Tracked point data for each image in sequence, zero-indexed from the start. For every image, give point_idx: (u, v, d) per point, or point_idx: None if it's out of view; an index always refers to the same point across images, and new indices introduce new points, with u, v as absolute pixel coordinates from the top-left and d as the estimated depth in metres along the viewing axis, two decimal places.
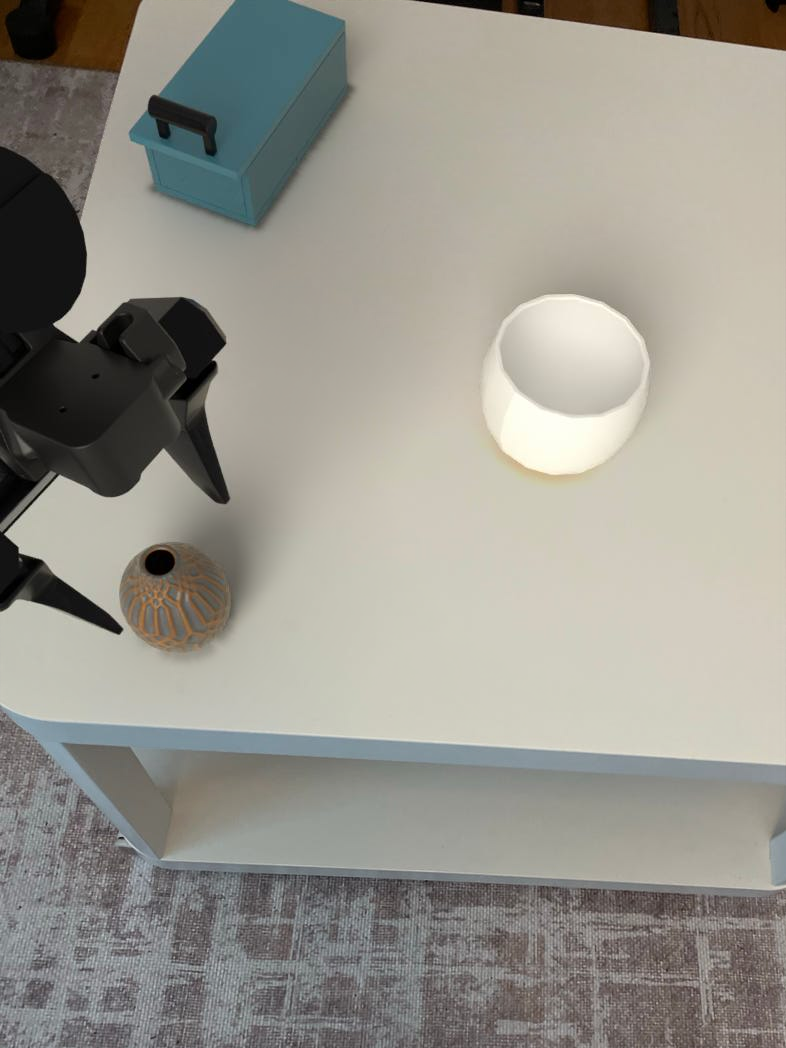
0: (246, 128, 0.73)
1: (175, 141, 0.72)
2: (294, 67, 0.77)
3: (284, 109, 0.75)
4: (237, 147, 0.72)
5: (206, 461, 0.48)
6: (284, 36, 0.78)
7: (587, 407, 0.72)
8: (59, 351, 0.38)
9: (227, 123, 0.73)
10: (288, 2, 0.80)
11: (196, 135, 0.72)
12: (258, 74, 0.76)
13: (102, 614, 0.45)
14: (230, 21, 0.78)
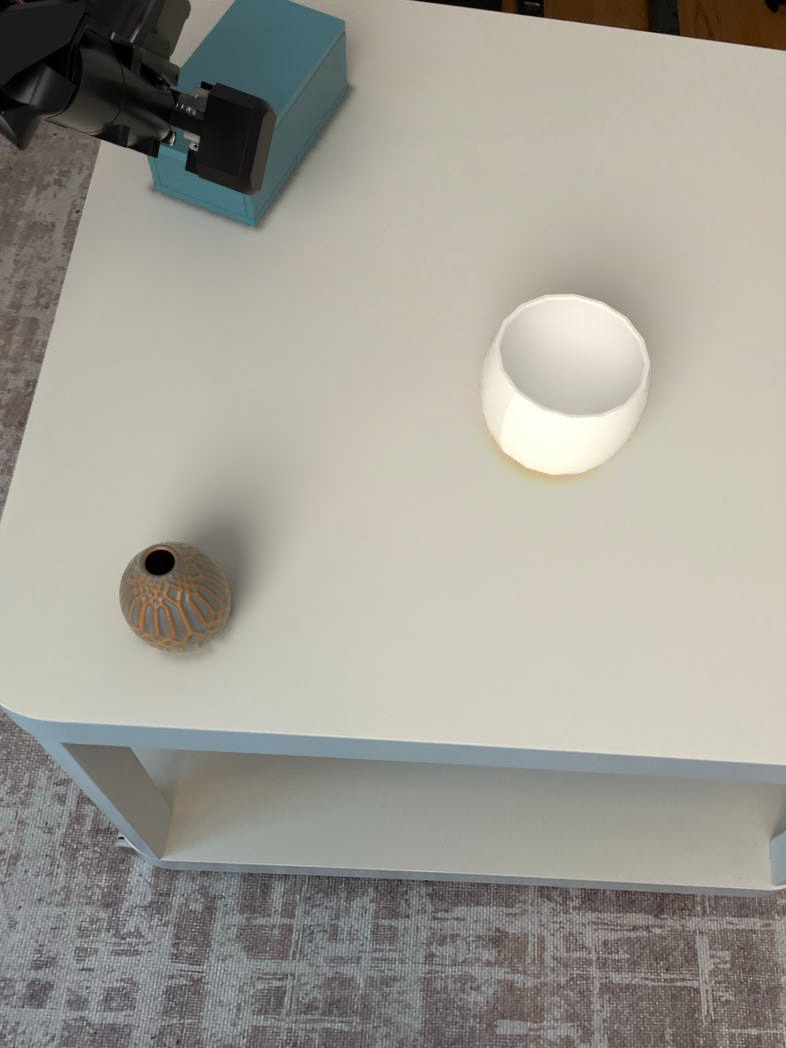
0: None
1: None
2: (294, 67, 0.77)
3: (284, 109, 0.75)
4: None
5: None
6: (284, 36, 0.78)
7: (587, 407, 0.72)
8: None
9: None
10: (288, 2, 0.80)
11: None
12: (258, 74, 0.76)
13: None
14: (230, 21, 0.78)
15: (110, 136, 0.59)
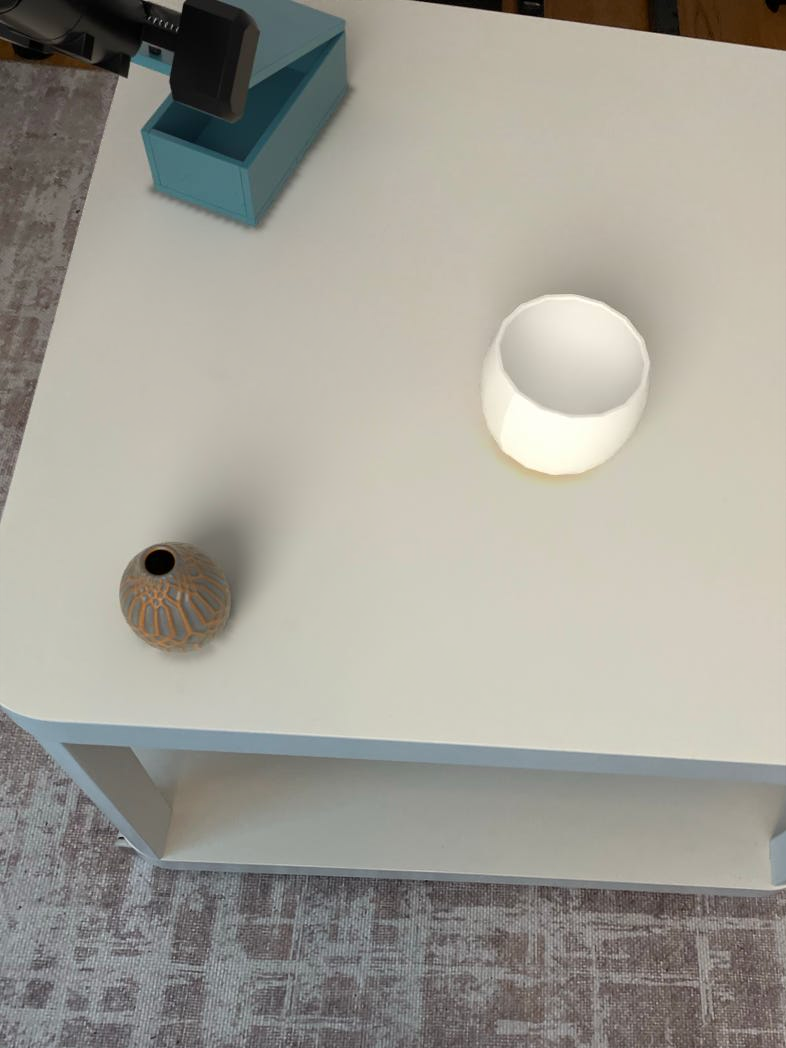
0: None
1: (166, 58, 0.67)
2: (295, 36, 0.75)
3: (283, 60, 0.72)
4: None
5: None
6: (284, 18, 0.77)
7: (587, 407, 0.72)
8: None
9: None
10: (289, 0, 0.80)
11: None
12: None
13: None
14: (229, 0, 0.77)
15: (72, 46, 0.53)
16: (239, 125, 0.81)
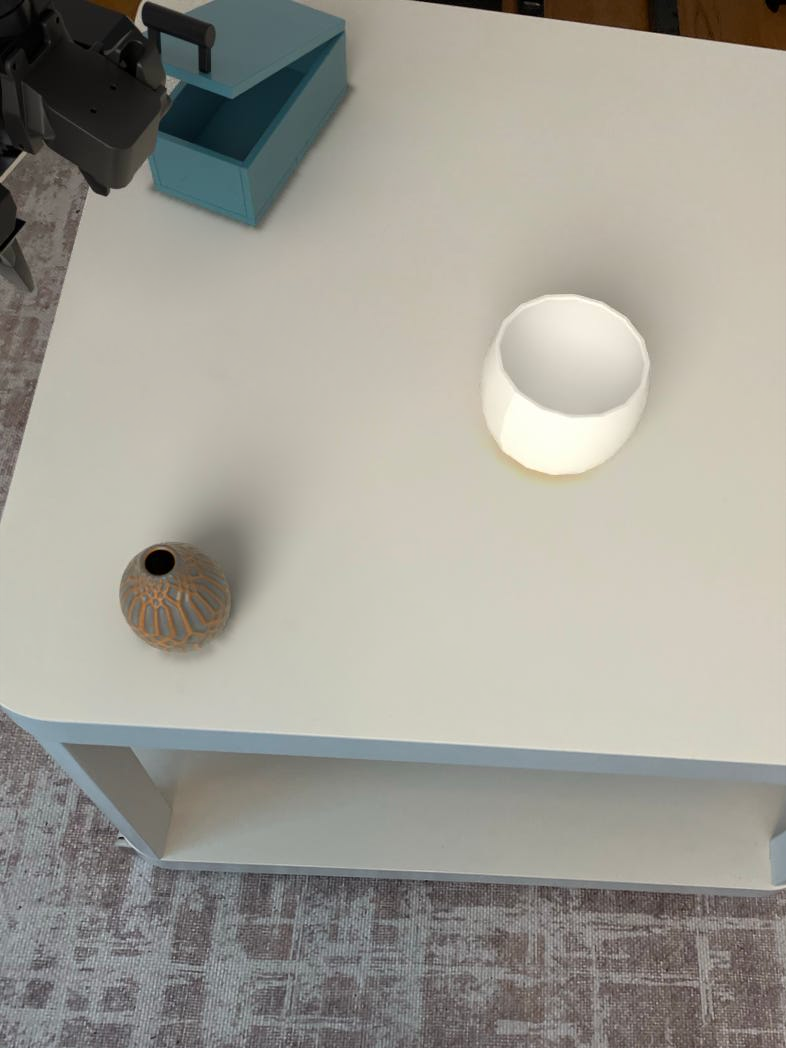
0: (243, 63, 0.69)
1: (166, 58, 0.67)
2: (295, 36, 0.75)
3: (283, 60, 0.72)
4: (233, 72, 0.68)
5: None
6: (284, 18, 0.77)
7: (587, 407, 0.72)
8: (74, 53, 0.47)
9: (222, 56, 0.69)
10: (289, 0, 0.80)
11: (189, 58, 0.67)
12: (257, 34, 0.73)
13: (28, 273, 0.55)
14: (229, 0, 0.77)
15: None
16: (239, 125, 0.81)
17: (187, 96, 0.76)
